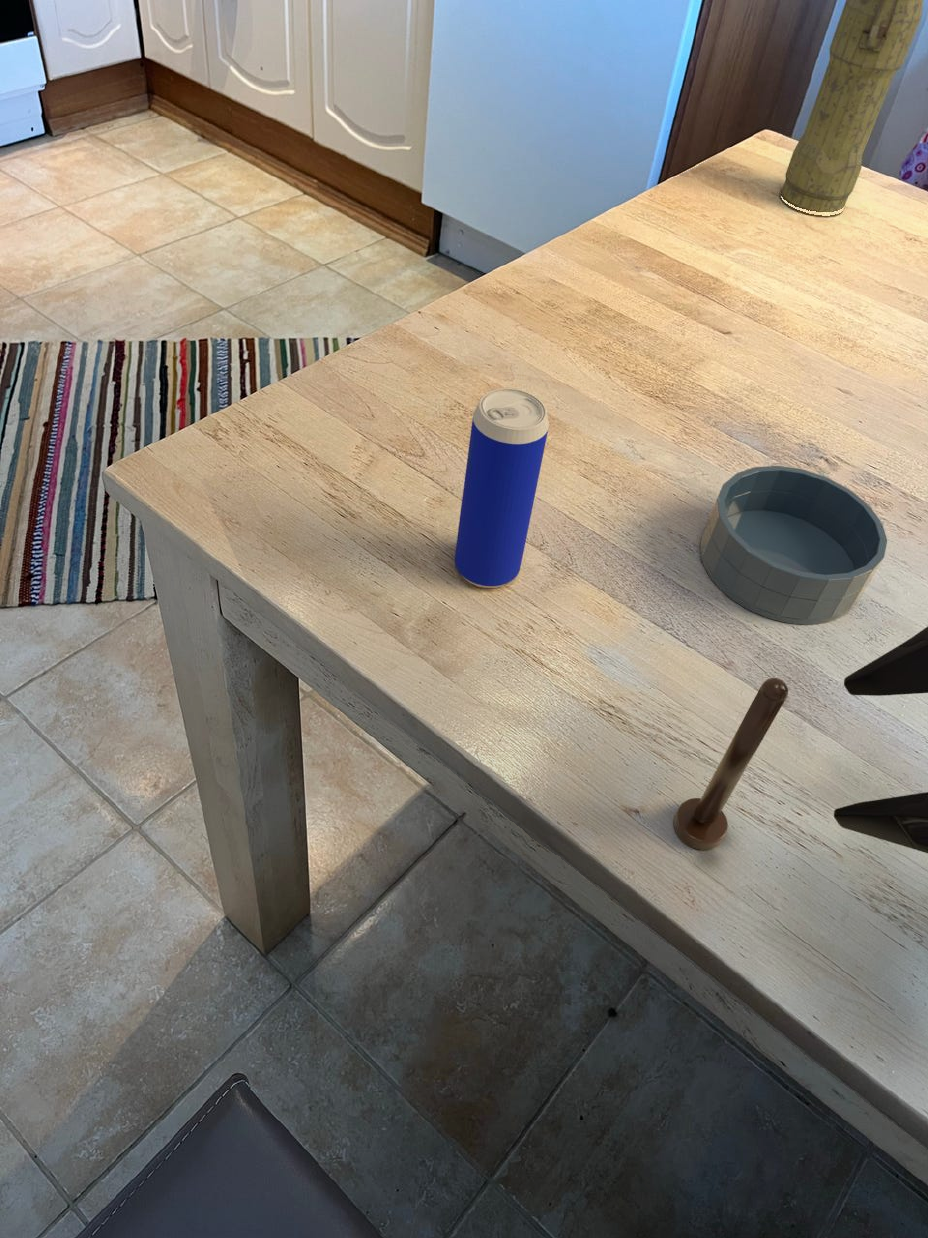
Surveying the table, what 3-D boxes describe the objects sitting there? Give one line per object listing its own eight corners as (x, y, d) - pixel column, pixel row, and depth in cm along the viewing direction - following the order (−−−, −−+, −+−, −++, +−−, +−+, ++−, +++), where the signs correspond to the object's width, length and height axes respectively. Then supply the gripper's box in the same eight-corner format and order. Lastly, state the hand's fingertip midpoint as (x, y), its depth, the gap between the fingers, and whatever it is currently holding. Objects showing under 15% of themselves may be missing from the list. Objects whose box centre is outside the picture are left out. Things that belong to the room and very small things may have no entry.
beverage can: (500, 539, 76) (528, 380, 65) (530, 582, 73) (565, 423, 62) (442, 554, 74) (461, 393, 63) (471, 599, 72) (496, 438, 60)
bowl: (870, 544, 81) (895, 499, 77) (847, 648, 72) (875, 603, 68) (720, 492, 83) (738, 447, 80) (682, 586, 75) (700, 540, 71)
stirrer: (728, 818, 61) (814, 673, 50) (716, 858, 59) (803, 716, 48) (680, 798, 61) (755, 650, 51) (667, 837, 59) (742, 692, 48)
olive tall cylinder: (842, 190, 132) (965, -124, 106) (846, 227, 124) (980, -104, 98) (778, 178, 132) (886, -137, 107) (778, 213, 124) (894, -118, 99)
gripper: (1110, 428, 44) (790, 533, 54) (1183, 730, 32) (751, 796, 42) (1176, 595, 49) (871, 664, 59) (1262, 915, 36) (857, 936, 46)
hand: (841, 748), depth 51 cm, fingers open, 9 cm apart
